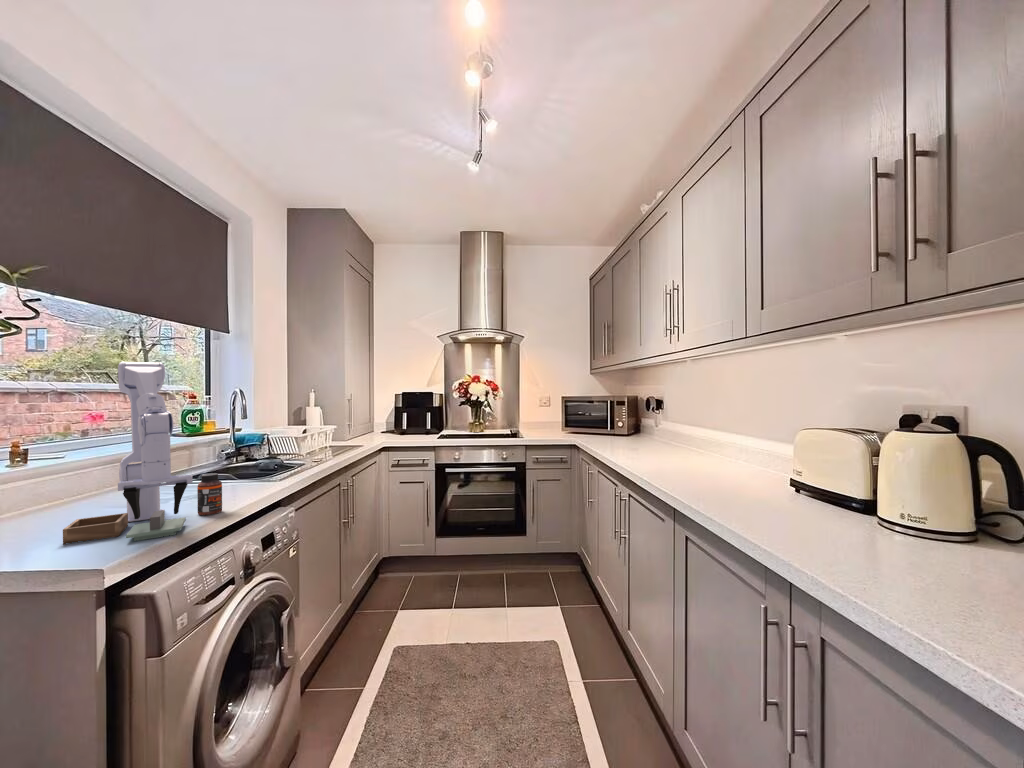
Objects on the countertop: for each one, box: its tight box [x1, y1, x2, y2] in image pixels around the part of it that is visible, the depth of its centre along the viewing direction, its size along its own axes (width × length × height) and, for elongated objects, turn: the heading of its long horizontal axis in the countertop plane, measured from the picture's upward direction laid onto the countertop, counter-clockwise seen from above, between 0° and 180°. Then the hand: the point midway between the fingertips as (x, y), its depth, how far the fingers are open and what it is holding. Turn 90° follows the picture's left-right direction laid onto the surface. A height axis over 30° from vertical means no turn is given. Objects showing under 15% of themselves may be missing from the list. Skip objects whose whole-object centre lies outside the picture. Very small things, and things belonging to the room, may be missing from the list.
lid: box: [125, 509, 187, 542], centre depth 112 cm, size 10×10×5 cm
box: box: [62, 512, 129, 545], centre depth 112 cm, size 10×10×4 cm
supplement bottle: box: [196, 472, 223, 516], centre depth 130 cm, size 6×6×11 cm
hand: (157, 515), depth 112 cm, fingers open, 7 cm apart
